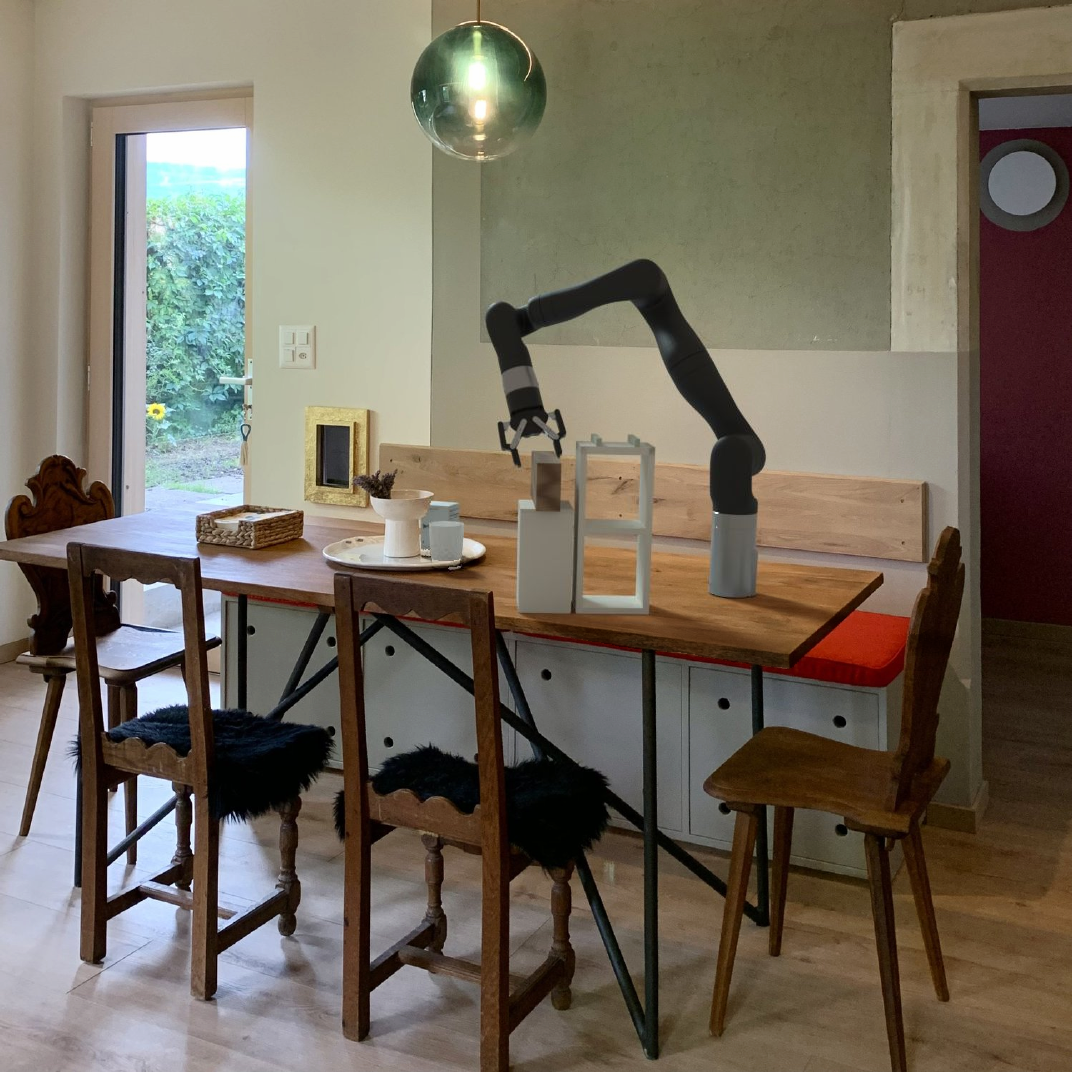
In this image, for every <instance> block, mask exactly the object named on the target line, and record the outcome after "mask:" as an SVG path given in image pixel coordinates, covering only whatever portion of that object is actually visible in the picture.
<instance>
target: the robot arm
mask: <svg viewBox="0 0 1072 1072" xmlns="http://www.w3.org/2000/svg"><path fill="white" fill-rule="evenodd" d="M628 301H629V302H631V304H633V306H634V307H635V309H637V310H638V312H639V313H640V315H641V316H642V317H643V319H644V320H645V323H646V324H647V325H648V327H649V328H650V330H651V331H652V334H653V336H654V338H655V341H656V344H657V347H658V351H659V355H660V357H661V360H662V361H663V364H664V367H665V368H666V371H667V374H668V375H669V376H670V378H671V380H672V382H673V383H674V385H675V388H676V390H677V391H678V393H679V394H680V395H681V397H682V398H684V400H685V402H687V403H688V404H689V405H690V407H692V408H693V409H694V410H695V412H697V413H698V414H699V415H700V417H702V418H703V419H704V421H705V422H706V423H707V424H708V426H709V427H710V428H711V430H712V432H713V433H714V436H715V438H716V439H717V440H716V442H715V443H714V445H712V446H713V447H712V448H711V453H710V460H709V496H710V499H711V503H712V512H711V515H712V516H711V532H710V533H711V534H710V556H709V557H710V558H709V576H708V577H709V579H708V593H709V592H710V593H709V594H711V595H713V594H714V596H717V597H725V598H747V596H748V597H752V596H751V595H757V579H758V578H757V577H758V563H759V562H758V559H759V551H758V550H757V547H756V546H757V529H758V528H757V526H758V513H759V512H758V509H759V502H758V501H759V500H758V499H757V498H756V497H755V496H754V494H753V477H754V476H757V475H759V473H761V471H762V470H763V469H764V467H765V465H766V460H767V453H766V448H765V447H764V444H763V442H762V440H761V439H760V437H759V436H758V435H757V433H756V432H755V430H754V429H753V427H752V426H751V425H750V423H749V422H748V421H747V419H746V418H745V416H744V415H743V413H742V412H741V410H740V409H739V407H738V405H737V404H736V401H735V399H734V397H733V396H732V393H731V392H730V390H729V388H728V386H727V384H726V383H725V381H724V379H723V378H722V376H721V374H720V371H719V370H718V368H717V366H716V364H715V362H714V361H713V358H712V357H711V355H710V353H709V351H708V349H707V348H706V346H705V345H704V343H703V342H702V340H701V338H700V337H699V336H698V334H697V333H696V331H695V330H694V329H693V327H692V326H691V325H690V323H689V322H688V321H687V319H686V318H685V316H684V315H683V313H682V310H681V309H680V306H679V305H678V302H677V300H676V298H675V295H674V293H673V290H672V288H671V285H670V283H669V279H668V277H667V275H666V273H665V272H664V271H663V270H662V268H661V267H660V266H659V265H658V263H656V262H655V261H653V260H651V259H648V258H637V259H634V260H630V261H629V262H627V263H624V264H622V265H620V266H618V267H616V268H614V269H611V270H610V271H608V272H605V273H603V274H601V275H598V276H595V277H593V278H590V279H587V280H585V281H583V282H579V283H576V284H573V285H570V286H565V287H563V288H559V289H554V290H552V291H547V292H543V293H541V294H538V295H537V294H536V295H535V296H533V297H530V299H529V300H528V301H527V304H525V305H523V306H520V307H514V306H513V305H512V304H510V303H509V302H506V301H501V300H500V301H496V302H493V303H492V304H490V305H489V307H487V310H486V312H485V317H484V319H485V320H484V321H485V322H484V323H485V328H486V330H487V333H488V336H489V339H490V341H491V345H492V346H493V349H494V350H495V354H496V355H497V360H498V362H497V363H498V366H499V371H500V375H501V382H502V388H503V393H504V395H505V396H504V397H505V400H506V404H507V409H508V410H507V411H508V413H509V417H510V420H509V421H504V422H503V421H500V420H499V421H497V430H498V436H499V437H498V438H499V444H500V448H501V451H503V452H510V453H511V457H512V461H513V465H514V466H517V469H518V468H522V462H521V458H520V453H519V448H518V446H519V444H520V442H521V440H522V439H523V438H524V439H529V438H531V437H538V436H540V435H541V434H543V435H544V436H545V437H547V438H549V439H550V440H551V441H552V445H553V449H554V450H553V451H554V453H555V454H556V456H557V457H558V459H559V460H560V459H561V456H562V454H563V449H562V445H561V440H562V439H565V438H566V436H567V429H566V427H565V422H564V419H563V417H562V414H561V410H560V409H559V408H555V409H554V410H553V411H550V412H547V411H546V410H545V408H544V407H545V406H544V402H543V398H542V395H541V391H540V387H539V386H540V383H539V382H538V378H537V375H536V373H535V369H534V367H533V363H532V359H531V355H530V352H529V351H530V350H529V348H528V347H527V344H526V343H525V342H524V341H523V339H522V338H524V337H527V336H529V335H531V334H533V333H536V332H537V331H538V330H540V329H542V328H543V329H544V328H547V327H548V328H549V327H551V326H554V325H558V324H559V325H560V324H561V323H565V322H568V321H572V320H574V319H576V318H579V317H580V316H583V315H585V314H586V313H588V312H590V311H592V310H594V309H596V308H599V307H602V306H605V305H608V304H613V303H620V302H628ZM549 419H551V421H552V422H554V423H556V426H557V428H558V432H555V431H553V429H552V428H551V427H550V426H549V425H547V423H548V422H549ZM509 428H511V429H512V430H513V431H514V432H515V434H514V436H513V438H512V441H511V443H507V439H506V437H507V436H506V433H508V430H509Z"/></svg>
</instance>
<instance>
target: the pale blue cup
mask: <svg viewBox="0 0 1072 1072" xmlns="http://www.w3.org/2000/svg"><path fill="white" fill-rule="evenodd" d="M464 534H465V523H464V522H460V521H459V522H454V521H437V522H431V523H429V535H430V555H431V557H430V559H433V560H438V561H454V560H459V559H461V560H462V556H463V550H464V549H463V548H464ZM461 567H462V565H461V566H457V567H449V568H448V569H449V570H451V571H452V570H458V569H461Z"/></svg>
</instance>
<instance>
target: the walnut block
mask: <svg viewBox="0 0 1072 1072" xmlns="http://www.w3.org/2000/svg"><path fill="white" fill-rule="evenodd" d="M530 457H531V458H530V459H531V460H530V461H531V463H530V464H531V465H530V466H531V467H530V498H531V500H533V503H534V507H535V510H536V511H547V512H560V502H561V497H562V464H563V463H562V462H561V460H560V459H558V457H557V456H556V454H555V450H531V456H530Z"/></svg>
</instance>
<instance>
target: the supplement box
mask: <svg viewBox="0 0 1072 1072" xmlns="http://www.w3.org/2000/svg"><path fill="white" fill-rule="evenodd" d="M430 501H431V503H430V505H429V509H428V512H427V514H426V516H424V517H422V518H421V517H420V542H421V549H423V550H424V549H425V550H426V549H428V550H430V535H429V523H431V522H437V521H454V522H460V507H461V503H460V502H450V501H440V500H430Z"/></svg>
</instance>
